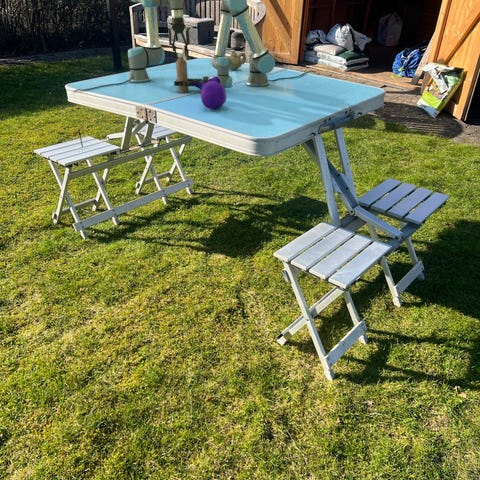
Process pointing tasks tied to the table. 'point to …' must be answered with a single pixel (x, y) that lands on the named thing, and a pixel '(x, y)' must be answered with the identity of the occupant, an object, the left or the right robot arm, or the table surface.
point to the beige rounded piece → (236, 60)
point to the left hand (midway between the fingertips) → (180, 56)
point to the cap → (180, 55)
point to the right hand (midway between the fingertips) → (175, 82)
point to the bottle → (182, 74)
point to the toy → (211, 93)
